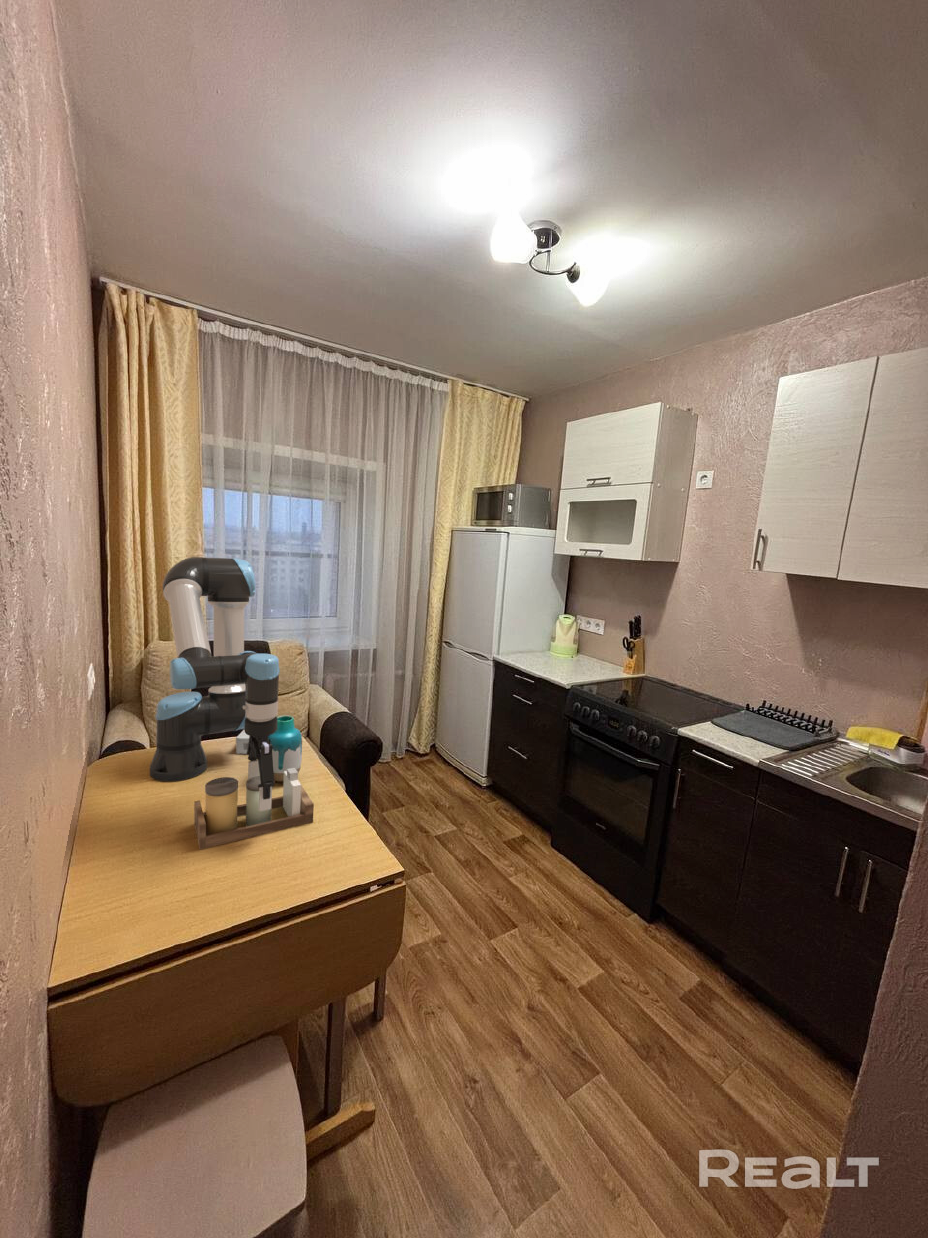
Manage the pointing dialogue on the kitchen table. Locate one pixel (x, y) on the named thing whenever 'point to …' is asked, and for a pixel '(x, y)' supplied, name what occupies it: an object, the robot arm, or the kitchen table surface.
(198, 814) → the wooden spice rack
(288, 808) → the plate
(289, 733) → the vase
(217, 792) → the amber jar
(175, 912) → the kitchen table surface
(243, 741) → the skincare box
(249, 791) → the sage jar
